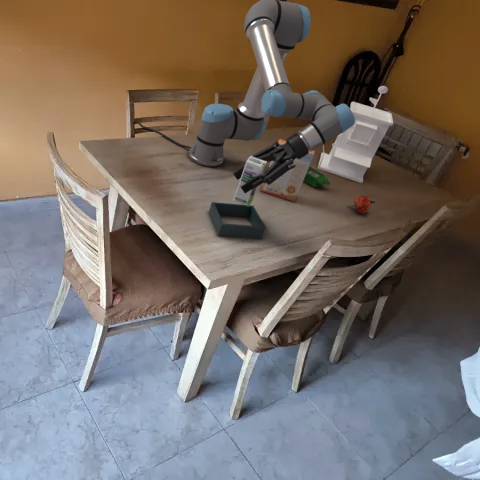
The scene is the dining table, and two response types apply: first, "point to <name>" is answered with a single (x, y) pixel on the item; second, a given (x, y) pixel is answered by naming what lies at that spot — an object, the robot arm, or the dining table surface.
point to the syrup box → (249, 172)
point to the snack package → (315, 178)
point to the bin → (235, 229)
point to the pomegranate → (362, 204)
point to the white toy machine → (358, 141)
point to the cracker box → (289, 178)
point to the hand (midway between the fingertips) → (238, 183)
